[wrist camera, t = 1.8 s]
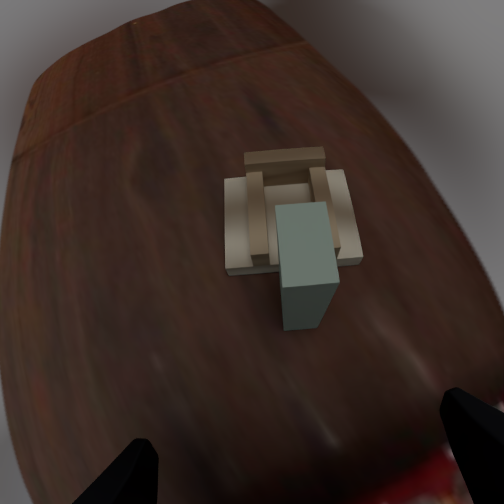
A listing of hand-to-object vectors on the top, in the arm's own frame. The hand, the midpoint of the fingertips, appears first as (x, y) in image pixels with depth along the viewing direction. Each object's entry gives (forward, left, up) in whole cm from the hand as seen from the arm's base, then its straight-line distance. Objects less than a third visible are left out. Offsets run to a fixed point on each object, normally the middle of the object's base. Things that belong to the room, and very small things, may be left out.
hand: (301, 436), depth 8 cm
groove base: (+12, -8, -13) cm, 19 cm away
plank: (+6, -5, -13) cm, 15 cm away
